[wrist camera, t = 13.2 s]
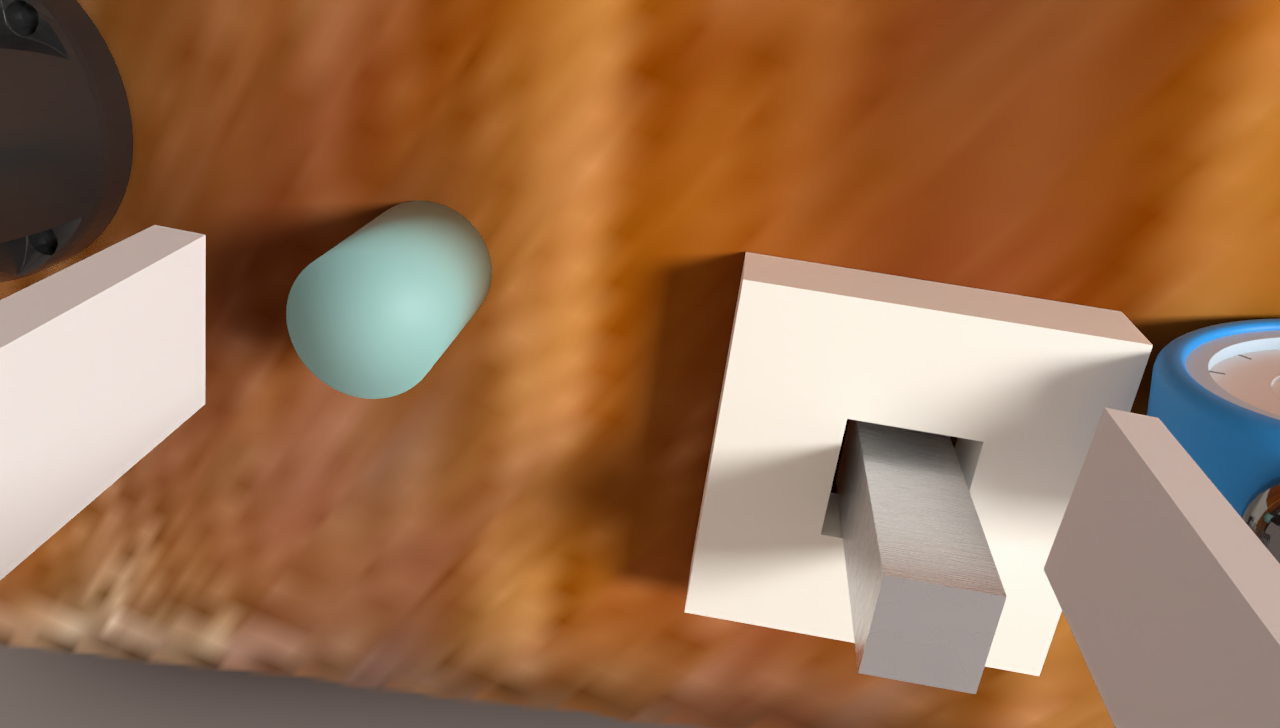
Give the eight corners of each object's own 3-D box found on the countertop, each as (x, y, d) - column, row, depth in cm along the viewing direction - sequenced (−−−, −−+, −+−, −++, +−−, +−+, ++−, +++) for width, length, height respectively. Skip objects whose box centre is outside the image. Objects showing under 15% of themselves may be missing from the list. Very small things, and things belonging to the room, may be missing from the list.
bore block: (690, 564, 51) (684, 612, 48) (745, 251, 45) (743, 279, 42) (1019, 622, 50) (1039, 676, 47) (1121, 311, 44) (1152, 345, 41)
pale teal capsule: (359, 317, 49) (286, 385, 41) (363, 190, 46) (285, 238, 39) (486, 338, 48) (434, 410, 41) (496, 211, 46) (443, 263, 39)
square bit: (835, 479, 49) (858, 673, 36) (853, 401, 47) (883, 574, 34) (922, 493, 49) (975, 694, 36) (942, 416, 47) (1006, 596, 34)
